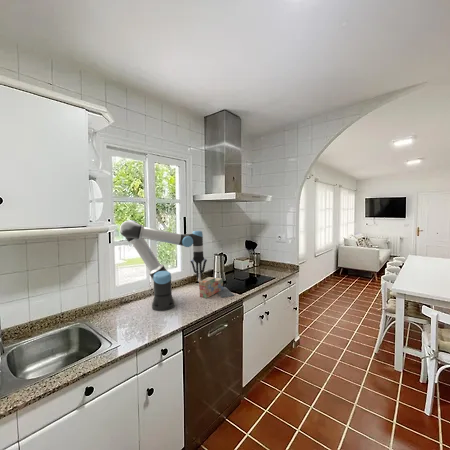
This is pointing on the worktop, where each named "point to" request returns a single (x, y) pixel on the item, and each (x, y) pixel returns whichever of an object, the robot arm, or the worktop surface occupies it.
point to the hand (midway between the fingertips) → (199, 281)
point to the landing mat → (225, 293)
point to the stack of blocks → (210, 286)
